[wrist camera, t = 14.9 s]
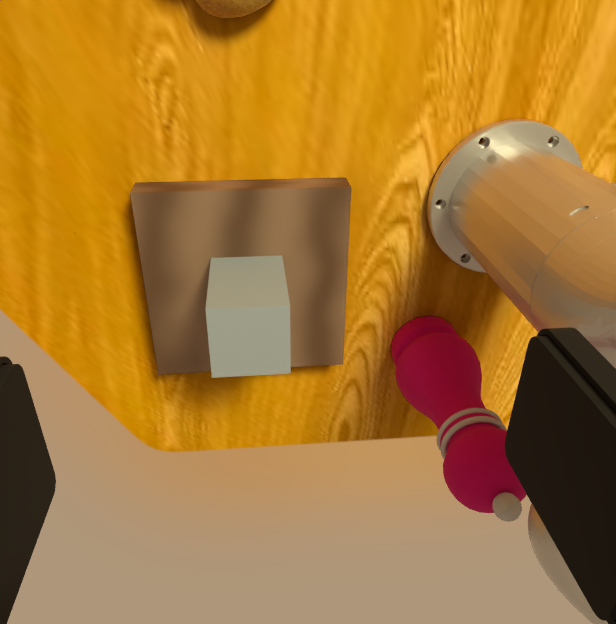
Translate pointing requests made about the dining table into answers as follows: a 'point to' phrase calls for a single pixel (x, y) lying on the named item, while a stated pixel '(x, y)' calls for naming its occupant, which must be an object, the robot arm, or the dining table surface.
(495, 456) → the pepper mill
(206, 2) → the bread roll
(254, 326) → the slate block
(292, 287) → the walnut base
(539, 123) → the robot arm
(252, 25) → the dining table surface
